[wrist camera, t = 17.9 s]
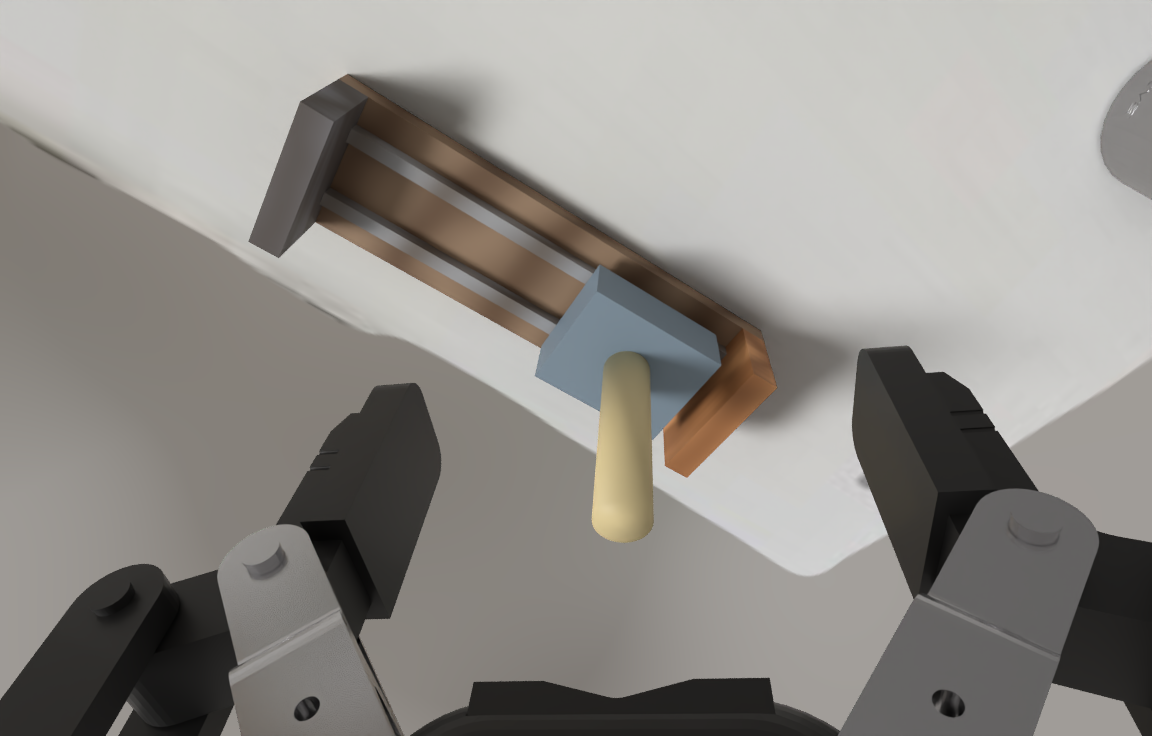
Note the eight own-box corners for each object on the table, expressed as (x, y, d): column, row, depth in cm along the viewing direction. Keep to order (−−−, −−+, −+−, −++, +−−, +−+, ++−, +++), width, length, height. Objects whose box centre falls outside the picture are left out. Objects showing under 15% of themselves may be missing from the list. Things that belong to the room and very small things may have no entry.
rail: (761, 330, 53) (777, 387, 47) (681, 416, 58) (687, 477, 52) (347, 74, 45) (300, 101, 38) (297, 199, 50) (248, 241, 44)
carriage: (715, 334, 50) (748, 517, 35) (651, 407, 54) (656, 598, 39) (599, 264, 48) (581, 428, 33) (541, 345, 52) (502, 524, 37)
